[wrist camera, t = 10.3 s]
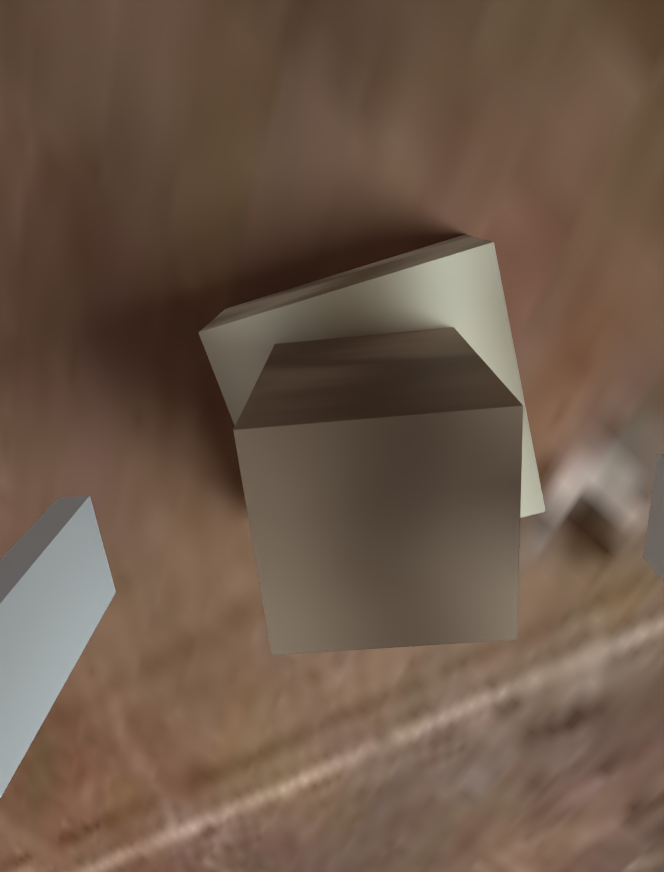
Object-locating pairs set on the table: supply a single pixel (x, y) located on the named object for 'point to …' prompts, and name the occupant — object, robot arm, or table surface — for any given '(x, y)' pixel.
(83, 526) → the robot arm
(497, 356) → the pale square block
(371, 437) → the walnut block
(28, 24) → the table surface
